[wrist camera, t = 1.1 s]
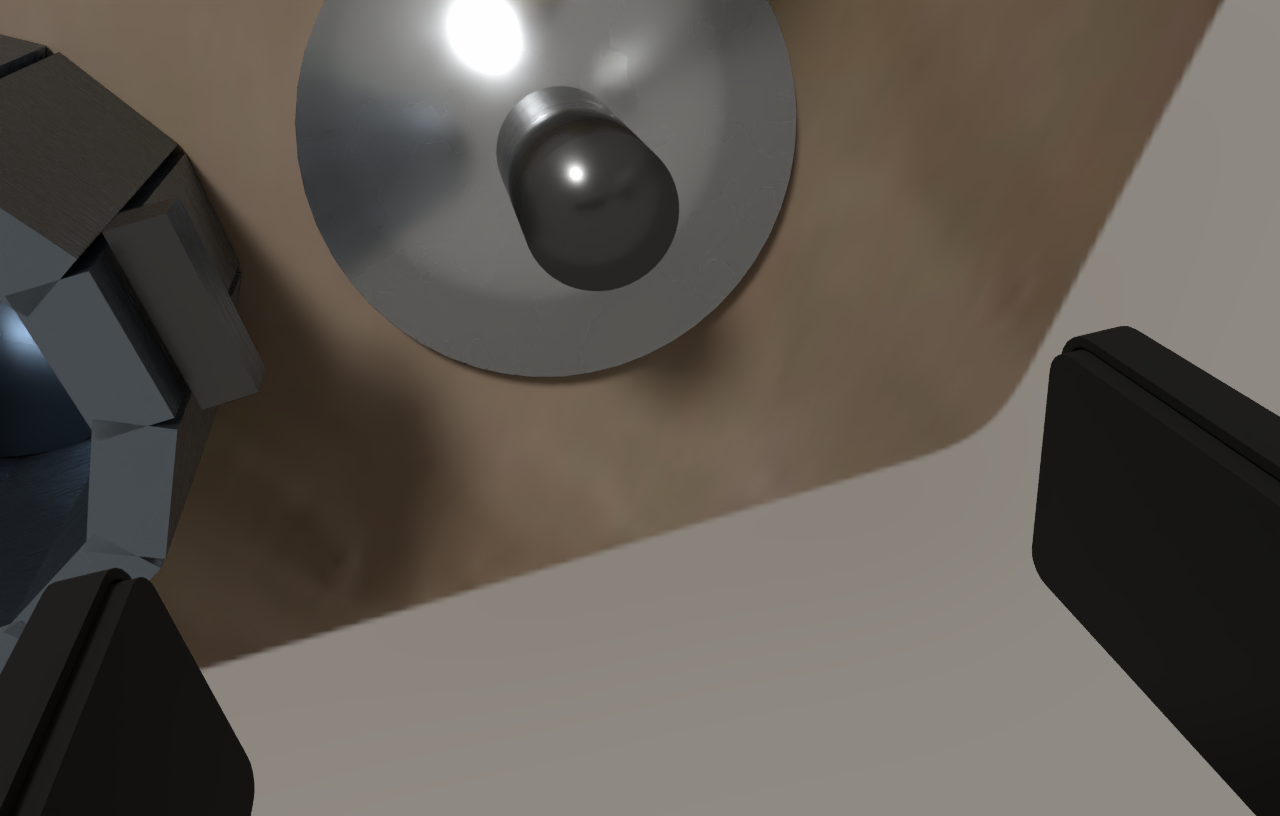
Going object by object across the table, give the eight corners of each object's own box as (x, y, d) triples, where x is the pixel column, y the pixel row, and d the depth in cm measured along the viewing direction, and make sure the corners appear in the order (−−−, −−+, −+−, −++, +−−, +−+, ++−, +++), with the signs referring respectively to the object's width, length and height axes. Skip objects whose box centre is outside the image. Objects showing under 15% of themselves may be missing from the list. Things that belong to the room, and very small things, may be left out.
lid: (743, -198, 24) (861, -230, 18) (811, 289, 31) (910, 383, 25) (204, -55, 22) (135, -37, 16) (406, 417, 30) (409, 548, 24)
